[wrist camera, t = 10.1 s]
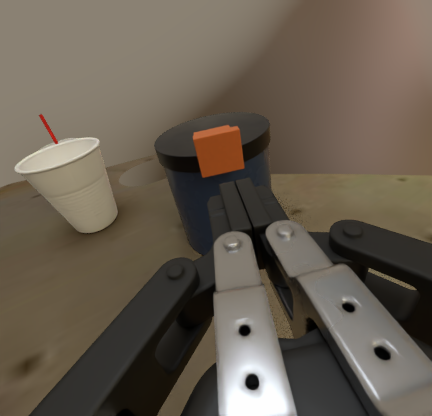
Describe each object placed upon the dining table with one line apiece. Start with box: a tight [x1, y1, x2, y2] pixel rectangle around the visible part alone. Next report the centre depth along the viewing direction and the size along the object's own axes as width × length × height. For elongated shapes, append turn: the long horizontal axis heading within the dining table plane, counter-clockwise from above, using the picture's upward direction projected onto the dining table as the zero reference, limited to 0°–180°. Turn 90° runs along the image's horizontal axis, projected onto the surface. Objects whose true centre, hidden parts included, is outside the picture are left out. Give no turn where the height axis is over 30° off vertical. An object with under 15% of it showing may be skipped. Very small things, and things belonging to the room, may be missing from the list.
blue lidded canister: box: [154, 112, 271, 255], centre depth 27 cm, size 11×11×12 cm
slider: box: [193, 125, 244, 178], centre depth 20 cm, size 6×3×3 cm, turn 7°
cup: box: [15, 137, 118, 233], centre depth 34 cm, size 10×10×11 cm
